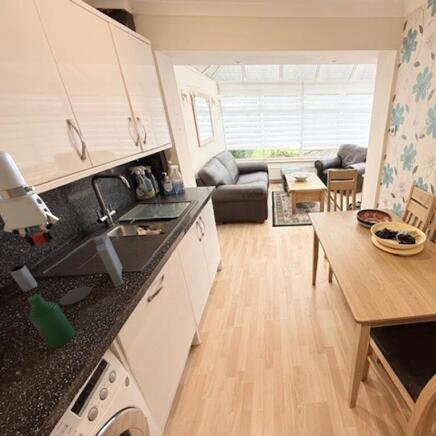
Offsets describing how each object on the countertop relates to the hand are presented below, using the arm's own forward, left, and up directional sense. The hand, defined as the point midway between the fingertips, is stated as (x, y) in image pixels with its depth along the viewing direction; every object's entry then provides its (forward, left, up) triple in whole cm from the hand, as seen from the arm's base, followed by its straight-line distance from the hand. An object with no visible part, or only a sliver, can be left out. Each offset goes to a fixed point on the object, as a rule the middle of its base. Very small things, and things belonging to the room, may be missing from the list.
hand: (43, 242), depth 82 cm
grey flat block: (+7, +13, -26) cm, 30 cm away
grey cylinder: (-27, +5, -26) cm, 37 cm away
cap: (0, 0, 0) cm, 0 cm away
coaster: (-1, +1, -25) cm, 26 cm away
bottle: (+13, -17, -25) cm, 33 cm away
